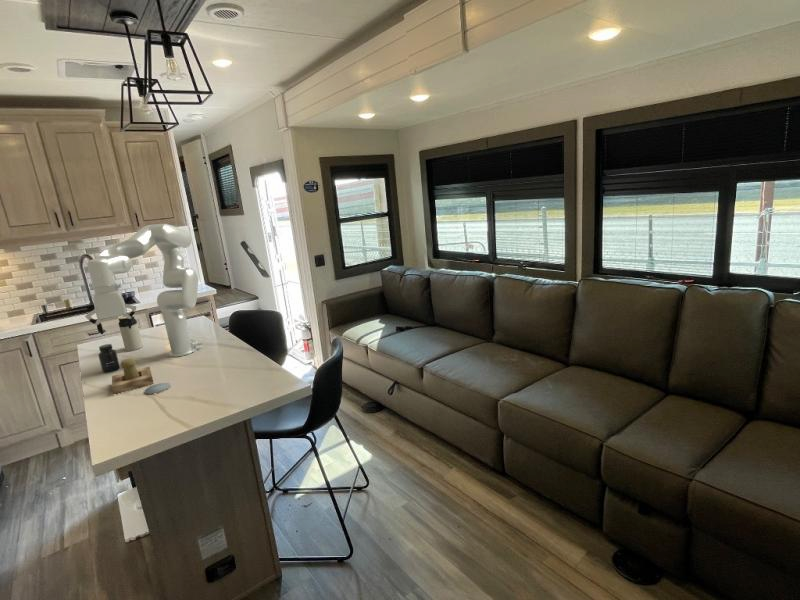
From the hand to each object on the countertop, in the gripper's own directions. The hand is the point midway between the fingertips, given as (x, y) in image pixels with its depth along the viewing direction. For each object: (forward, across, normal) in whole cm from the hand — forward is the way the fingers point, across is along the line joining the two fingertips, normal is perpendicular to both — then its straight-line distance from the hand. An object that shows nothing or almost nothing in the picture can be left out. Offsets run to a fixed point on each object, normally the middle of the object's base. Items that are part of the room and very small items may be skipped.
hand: (116, 330), depth 172 cm
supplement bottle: (+24, +8, -26) cm, 36 cm away
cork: (+24, -1, +1) cm, 24 cm away
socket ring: (+24, -1, +1) cm, 24 cm away
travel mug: (+24, -1, -54) cm, 59 cm away
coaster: (+24, -10, +14) cm, 29 cm away
